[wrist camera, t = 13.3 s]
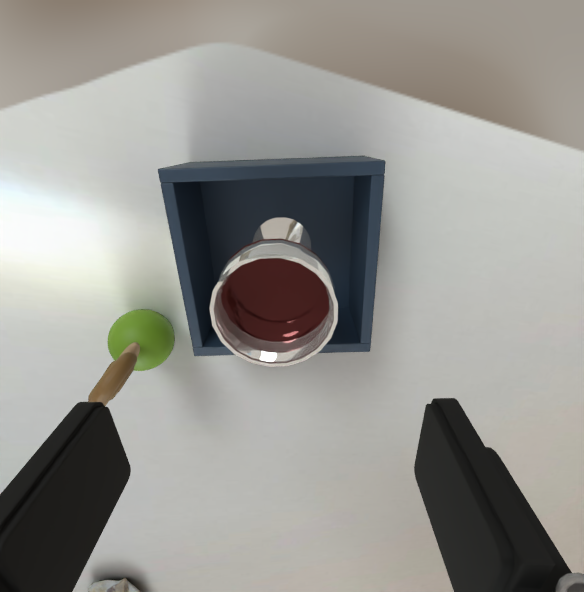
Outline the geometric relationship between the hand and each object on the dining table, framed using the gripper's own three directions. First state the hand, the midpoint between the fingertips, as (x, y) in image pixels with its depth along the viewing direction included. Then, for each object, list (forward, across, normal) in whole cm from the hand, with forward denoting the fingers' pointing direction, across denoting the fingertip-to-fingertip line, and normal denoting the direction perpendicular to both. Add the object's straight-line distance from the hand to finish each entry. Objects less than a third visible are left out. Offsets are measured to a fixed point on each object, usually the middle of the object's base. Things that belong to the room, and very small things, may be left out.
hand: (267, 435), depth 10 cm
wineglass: (+20, +1, 0) cm, 20 cm away
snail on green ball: (+20, +14, +8) cm, 26 cm away
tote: (+20, +1, 0) cm, 20 cm away
